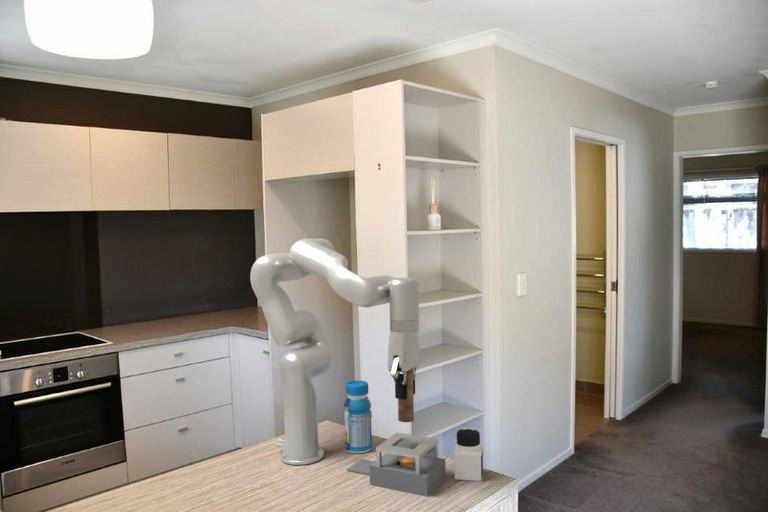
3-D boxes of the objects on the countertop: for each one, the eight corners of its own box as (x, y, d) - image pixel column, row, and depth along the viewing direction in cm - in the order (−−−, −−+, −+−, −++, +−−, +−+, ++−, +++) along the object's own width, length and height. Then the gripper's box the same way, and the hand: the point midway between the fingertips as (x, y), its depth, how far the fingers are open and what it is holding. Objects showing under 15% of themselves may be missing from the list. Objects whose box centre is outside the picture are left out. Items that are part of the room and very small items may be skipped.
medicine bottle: (482, 481, 151) (481, 435, 150) (454, 480, 152) (453, 434, 152) (483, 470, 158) (482, 426, 157) (456, 468, 159) (455, 425, 159)
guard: (376, 466, 149) (375, 447, 149) (397, 450, 160) (396, 432, 160) (419, 475, 144) (419, 454, 144) (438, 457, 154) (437, 438, 154)
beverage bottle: (359, 456, 169) (357, 388, 168) (338, 450, 175) (336, 383, 174) (378, 448, 176) (376, 382, 175) (357, 442, 181) (356, 378, 180)
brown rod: (395, 421, 151) (394, 359, 150) (402, 416, 154) (401, 356, 153) (409, 423, 149) (408, 360, 148) (416, 418, 152) (415, 357, 152)
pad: (346, 470, 160) (346, 469, 160) (361, 460, 167) (361, 458, 167) (372, 475, 156) (372, 474, 156) (386, 464, 163) (386, 463, 163)
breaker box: (370, 484, 151) (369, 465, 150) (391, 467, 161) (390, 449, 161) (427, 496, 143) (426, 476, 143) (445, 477, 154) (445, 458, 153)
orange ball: (395, 481, 151) (395, 460, 151) (403, 474, 155) (403, 454, 155) (412, 484, 149) (412, 463, 149) (420, 477, 153) (420, 456, 153)
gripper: (405, 320, 159) (406, 386, 160) (376, 330, 145) (377, 403, 146) (430, 321, 156) (431, 389, 157) (403, 332, 141) (404, 407, 142)
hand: (405, 395), depth 151 cm, fingers closed on brown rod, 4 cm apart
